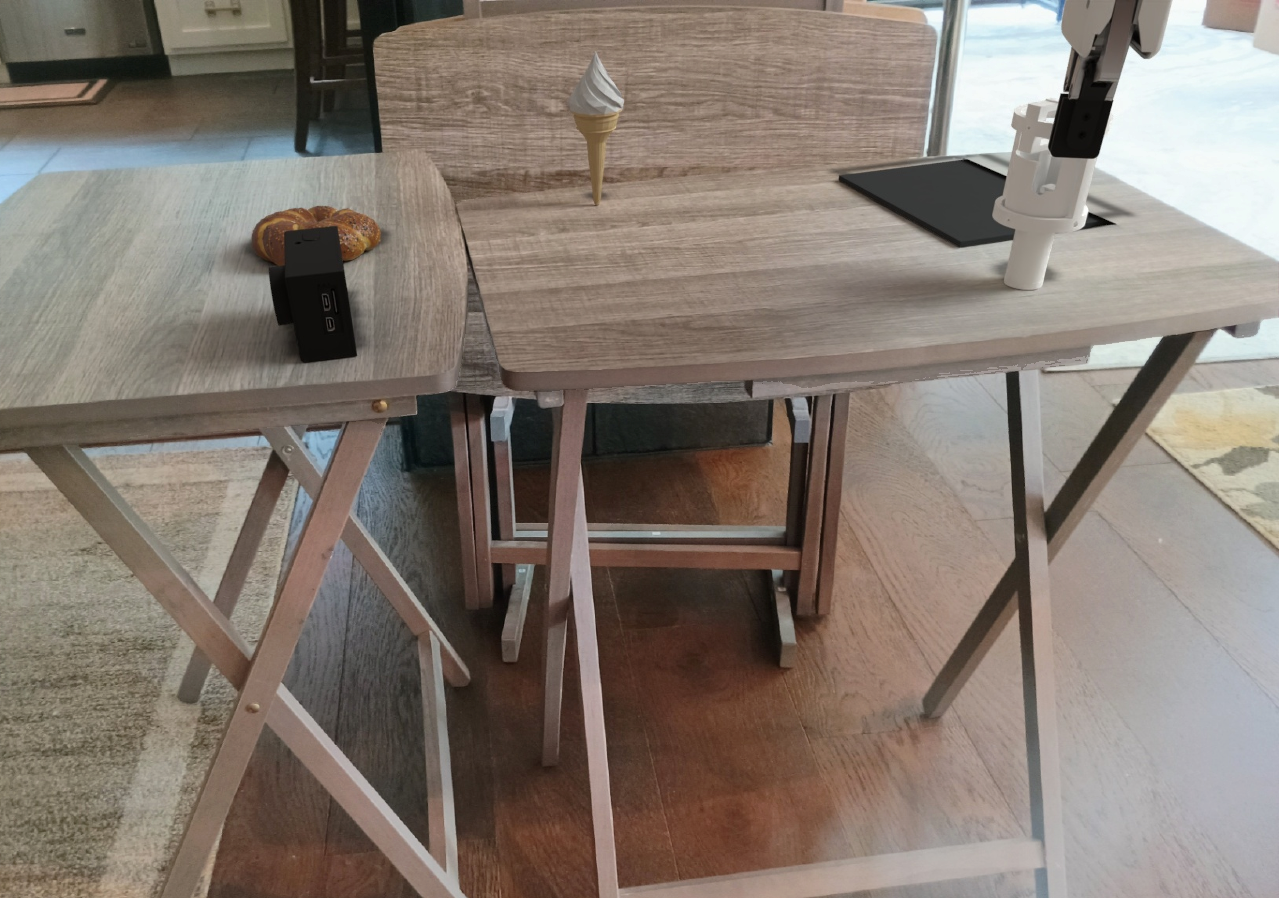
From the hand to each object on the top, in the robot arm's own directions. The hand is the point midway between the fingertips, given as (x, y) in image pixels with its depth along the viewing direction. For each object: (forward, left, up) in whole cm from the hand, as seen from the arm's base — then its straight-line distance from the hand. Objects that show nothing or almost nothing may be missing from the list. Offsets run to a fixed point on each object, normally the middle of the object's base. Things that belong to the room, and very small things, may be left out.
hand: (1072, 154), depth 74 cm
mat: (+26, -13, -13) cm, 32 cm away
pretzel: (+36, +52, -13) cm, 65 cm away
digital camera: (+17, +54, -13) cm, 58 cm away
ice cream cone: (+39, +23, -13) cm, 47 cm away
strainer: (+6, -4, -13) cm, 15 cm away
